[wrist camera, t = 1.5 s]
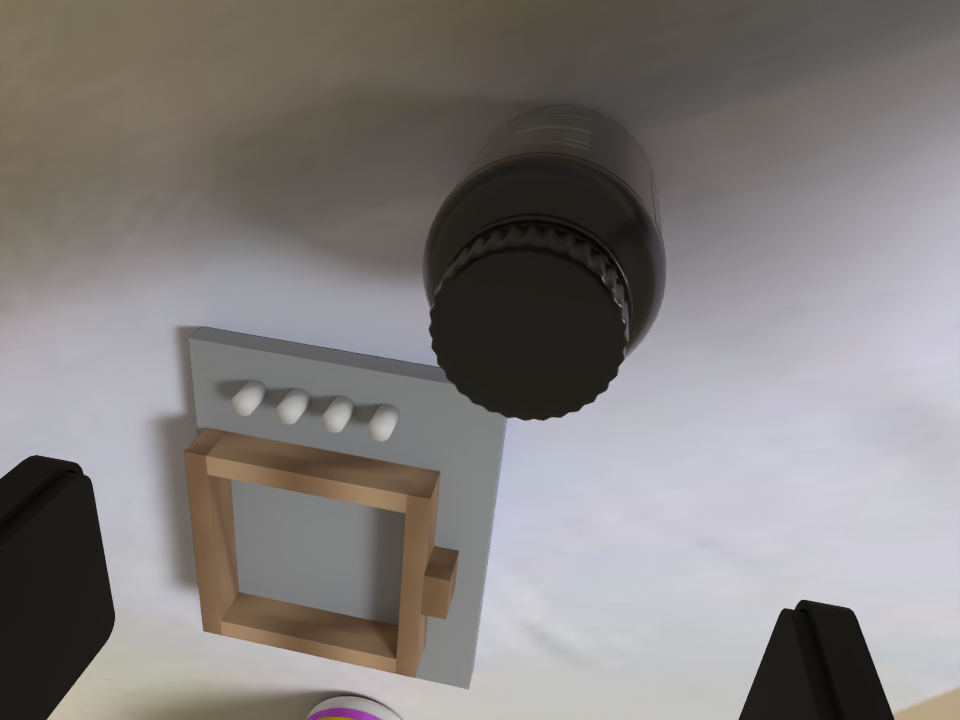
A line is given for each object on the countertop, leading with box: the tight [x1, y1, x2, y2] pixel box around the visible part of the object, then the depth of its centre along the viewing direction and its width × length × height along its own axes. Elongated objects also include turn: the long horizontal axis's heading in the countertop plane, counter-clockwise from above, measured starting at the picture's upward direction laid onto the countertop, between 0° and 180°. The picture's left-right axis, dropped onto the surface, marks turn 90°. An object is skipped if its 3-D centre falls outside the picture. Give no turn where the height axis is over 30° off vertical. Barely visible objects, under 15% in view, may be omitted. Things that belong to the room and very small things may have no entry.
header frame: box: [184, 428, 459, 678], centre depth 36 cm, size 12×11×2 cm
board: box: [188, 327, 507, 689], centre depth 36 cm, size 14×18×3 cm
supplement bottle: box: [423, 106, 666, 421], centre depth 23 cm, size 7×7×12 cm
